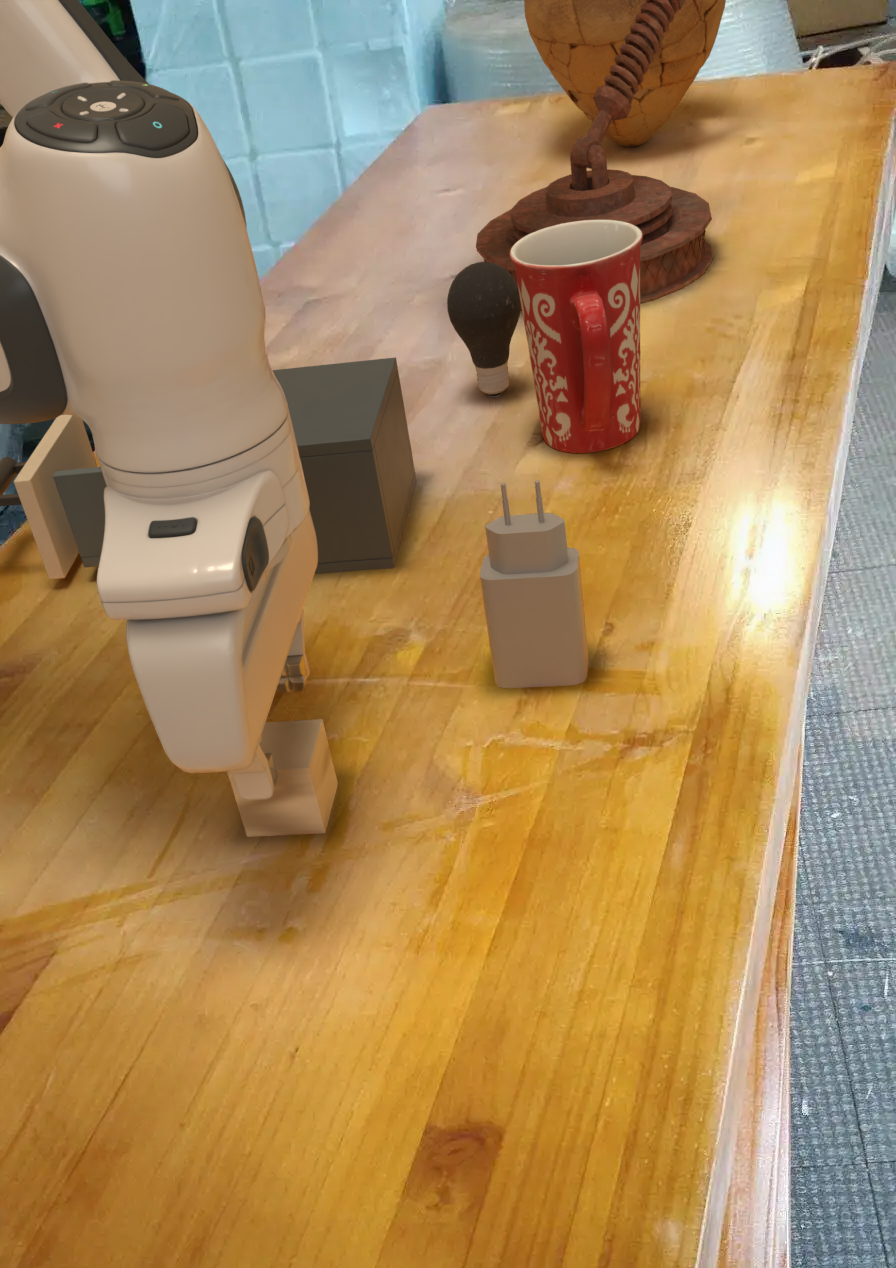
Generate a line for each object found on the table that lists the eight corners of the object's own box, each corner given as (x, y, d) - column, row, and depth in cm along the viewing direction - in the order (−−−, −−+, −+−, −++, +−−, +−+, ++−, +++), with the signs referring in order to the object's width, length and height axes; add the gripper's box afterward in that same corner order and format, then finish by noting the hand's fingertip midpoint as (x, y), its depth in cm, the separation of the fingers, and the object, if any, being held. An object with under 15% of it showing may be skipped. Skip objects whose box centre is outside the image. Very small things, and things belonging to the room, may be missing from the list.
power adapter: (586, 685, 85) (568, 492, 77) (493, 689, 86) (466, 499, 78) (589, 655, 87) (572, 464, 79) (499, 660, 88) (473, 472, 80)
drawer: (-17, 585, 103) (-56, 487, 98) (32, 507, 111) (-1, 413, 106) (234, 564, 100) (207, 463, 95) (266, 486, 108) (243, 389, 103)
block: (246, 837, 79) (226, 772, 76) (262, 787, 82) (243, 723, 79) (325, 834, 78) (308, 768, 75) (338, 783, 81) (322, 718, 78)
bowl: (520, 140, 165) (499, -73, 151) (694, 103, 165) (689, -112, 152) (564, 192, 149) (545, -40, 136) (756, 151, 150) (756, -83, 136)
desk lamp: (374, 318, 132) (274, -252, 104) (620, 202, 145) (589, -332, 117) (536, 365, 119) (471, -270, 92) (790, 233, 132) (799, -357, 105)
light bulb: (450, 411, 115) (431, 279, 108) (472, 380, 119) (455, 251, 112) (519, 411, 113) (503, 277, 106) (539, 380, 117) (525, 248, 110)
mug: (526, 415, 112) (506, 229, 103) (644, 398, 112) (635, 209, 102) (536, 490, 103) (515, 294, 94) (664, 472, 102) (656, 272, 93)
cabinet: (186, 585, 101) (149, 459, 94) (225, 498, 109) (193, 378, 103) (394, 568, 98) (370, 438, 92) (416, 481, 107) (396, 357, 101)
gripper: (194, 400, 75) (258, 633, 85) (83, 609, 61) (175, 863, 70) (313, 387, 74) (364, 625, 84) (229, 597, 60) (302, 856, 69)
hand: (277, 736), depth 77 cm, fingers open, 8 cm apart
